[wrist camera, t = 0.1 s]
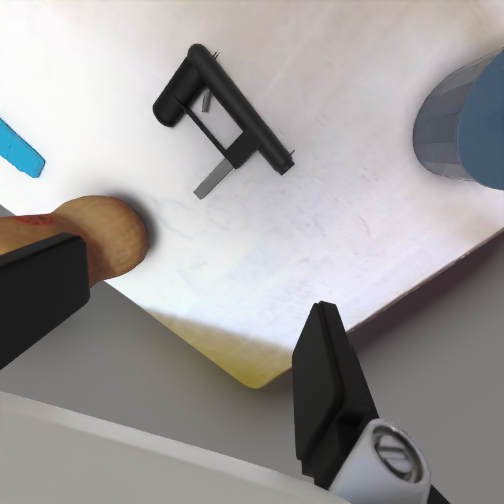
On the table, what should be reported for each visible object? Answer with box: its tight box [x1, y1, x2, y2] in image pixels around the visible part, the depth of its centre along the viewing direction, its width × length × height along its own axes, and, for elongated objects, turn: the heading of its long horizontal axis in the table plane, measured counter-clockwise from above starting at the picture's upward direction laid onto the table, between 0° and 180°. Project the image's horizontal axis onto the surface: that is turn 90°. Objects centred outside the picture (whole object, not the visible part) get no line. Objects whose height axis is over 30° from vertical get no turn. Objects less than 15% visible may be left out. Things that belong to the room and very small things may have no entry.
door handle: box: [153, 44, 295, 200], centre depth 35 cm, size 3×20×16 cm
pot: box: [413, 47, 504, 182], centre depth 27 cm, size 14×14×10 cm
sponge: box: [0, 119, 44, 178], centre depth 40 cm, size 2×12×6 cm
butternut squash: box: [0, 195, 149, 288], centre depth 32 cm, size 14×13×25 cm
